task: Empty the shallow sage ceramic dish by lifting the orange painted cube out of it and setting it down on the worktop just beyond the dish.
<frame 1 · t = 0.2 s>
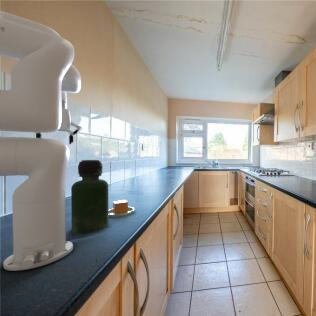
hand: (55, 143, 82), 31 cm above the worktop, tool pointing down, fingers open, 9 cm apart
cube: (120, 212, 83), resting on bowl
bowl: (120, 213, 83), on the worktop
dark green bottle: (90, 229, 67), on the worktop
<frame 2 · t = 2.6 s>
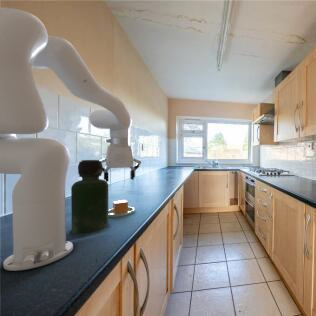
hand: (120, 180, 83), 15 cm above the worktop, tool pointing down, fingers open, 9 cm apart
nothing on the worktop moved.
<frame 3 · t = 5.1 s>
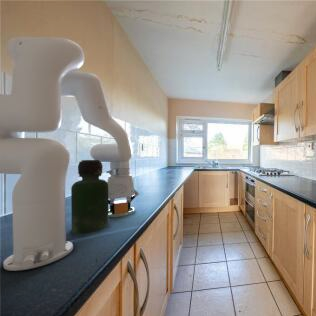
hand: (120, 211, 83), 1 cm above the worktop, tool pointing down, fingers closed on cube, 5 cm apart
cube: (120, 212, 83), point 1 cm above the worktop, touching bowl, gripper
everything else where it was.
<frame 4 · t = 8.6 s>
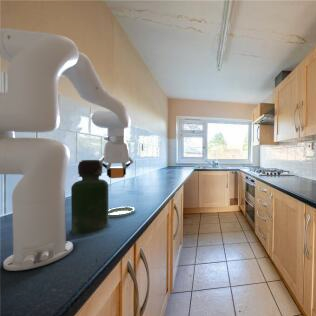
hand: (116, 176, 91), 16 cm above the worktop, tool pointing down, fingers closed on cube, 5 cm apart
cube: (116, 177, 91), point 15 cm above the worktop, touching gripper
everything else where it was.
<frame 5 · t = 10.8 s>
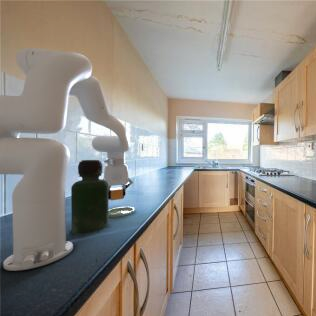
hand: (116, 197, 92), 5 cm above the worktop, tool pointing down, fingers closed on cube, 5 cm apart
cube: (116, 198, 92), point 4 cm above the worktop, touching gripper
everything else where it was.
when the fingers open (0 cm above the worktop, at t = 12.3 s): cube stays where it is, on the worktop.
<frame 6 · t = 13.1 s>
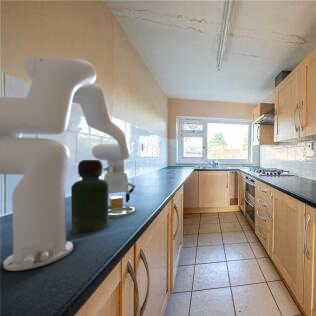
hand: (115, 203, 92), 2 cm above the worktop, tool pointing down, fingers open, 9 cm apart
cube: (116, 207, 92), on the worktop
everything else where it was.
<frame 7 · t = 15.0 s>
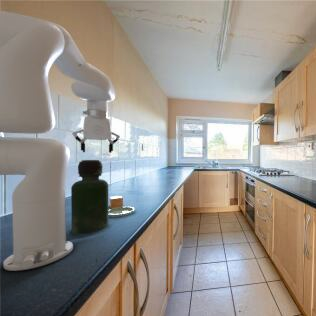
hand: (97, 152, 85), 28 cm above the worktop, tool pointing down, fingers open, 9 cm apart
nothing on the worktop moved.
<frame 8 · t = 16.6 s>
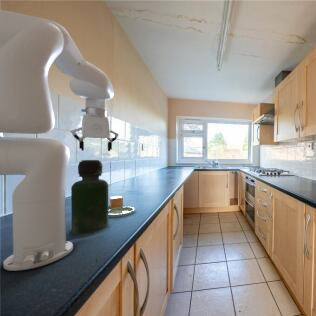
hand: (96, 150, 84), 28 cm above the worktop, tool pointing down, fingers open, 9 cm apart
nothing on the worktop moved.
at the end: cube inside the target area (0.1 cm from its centre), on the worktop; cube touching worktop; the gripper is holding nothing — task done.
